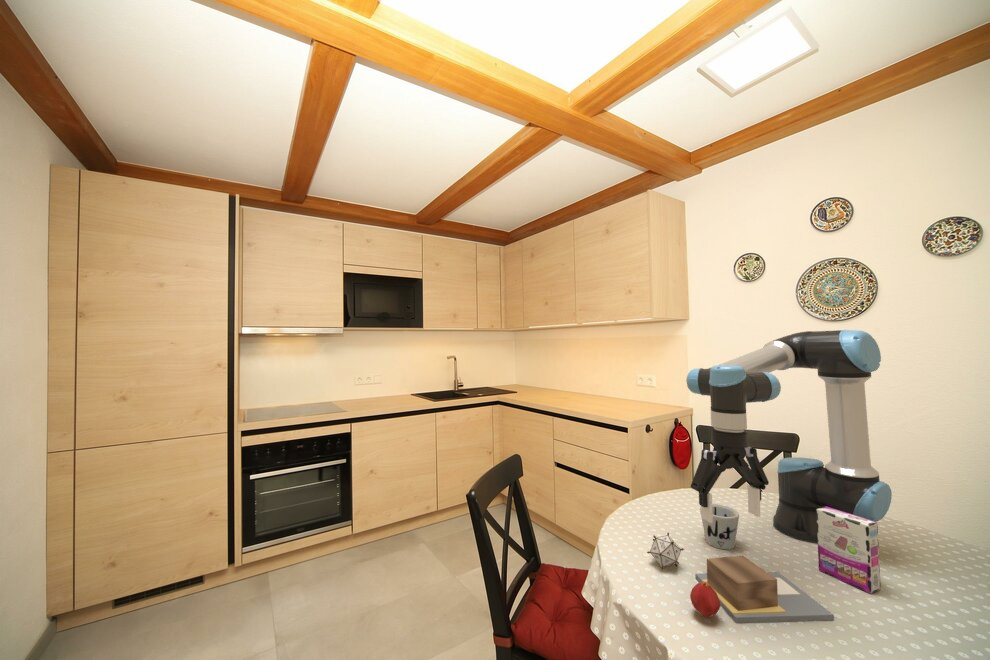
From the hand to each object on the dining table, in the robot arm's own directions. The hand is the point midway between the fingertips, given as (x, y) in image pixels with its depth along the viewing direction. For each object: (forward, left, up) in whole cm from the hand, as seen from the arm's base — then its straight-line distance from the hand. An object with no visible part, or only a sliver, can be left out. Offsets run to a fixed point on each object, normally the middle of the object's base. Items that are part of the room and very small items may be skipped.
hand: (731, 517), depth 93 cm
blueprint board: (-6, 0, -19) cm, 20 cm away
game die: (+10, -14, -19) cm, 25 cm away
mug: (-13, -27, -19) cm, 35 cm away
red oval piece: (+11, +6, -19) cm, 23 cm away
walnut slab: (-1, +1, -17) cm, 17 cm away
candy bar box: (-34, -6, -19) cm, 39 cm away
